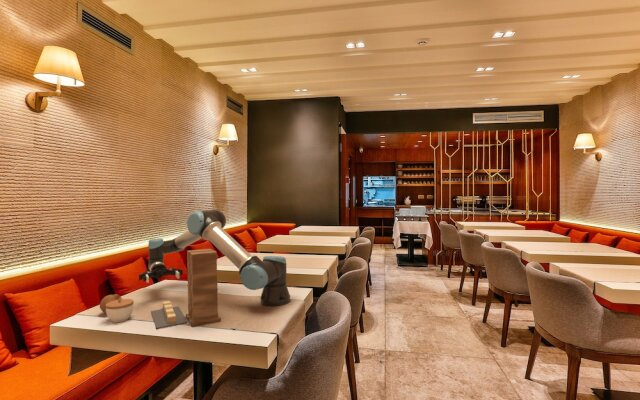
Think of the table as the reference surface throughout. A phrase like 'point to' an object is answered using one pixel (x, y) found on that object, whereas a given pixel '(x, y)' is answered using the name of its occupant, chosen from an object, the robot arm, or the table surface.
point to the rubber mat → (162, 321)
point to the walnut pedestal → (202, 287)
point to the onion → (107, 300)
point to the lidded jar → (119, 309)
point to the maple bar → (169, 312)
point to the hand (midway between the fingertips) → (163, 277)
